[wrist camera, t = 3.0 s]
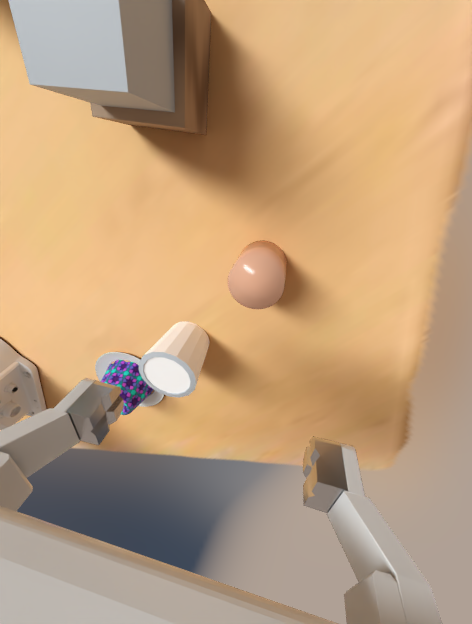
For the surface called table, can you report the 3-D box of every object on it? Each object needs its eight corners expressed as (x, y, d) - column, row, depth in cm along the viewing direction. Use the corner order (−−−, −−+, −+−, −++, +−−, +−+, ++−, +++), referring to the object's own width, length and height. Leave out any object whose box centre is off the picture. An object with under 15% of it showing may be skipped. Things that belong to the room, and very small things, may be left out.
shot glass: (224, 345, 32) (208, 385, 27) (190, 365, 36) (169, 405, 30) (188, 307, 31) (162, 342, 25) (156, 332, 34) (126, 368, 28)
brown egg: (281, 290, 27) (278, 313, 23) (236, 282, 27) (225, 303, 23) (291, 244, 24) (290, 262, 20) (241, 237, 25) (230, 252, 21)
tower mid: (174, 112, 17) (127, 92, 12) (101, 105, 17) (30, 84, 13) (171, -14, 14) (108, -104, 9) (83, -16, 14) (-18, -101, 10)
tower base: (206, 135, 21) (184, 127, 17) (131, 125, 22) (92, 116, 18) (212, 14, 17) (185, -34, 13) (121, 7, 18) (68, -39, 14)
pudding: (108, 395, 45) (87, 421, 40) (89, 343, 38) (63, 366, 34) (170, 408, 43) (155, 436, 38) (161, 355, 36) (143, 382, 32)
